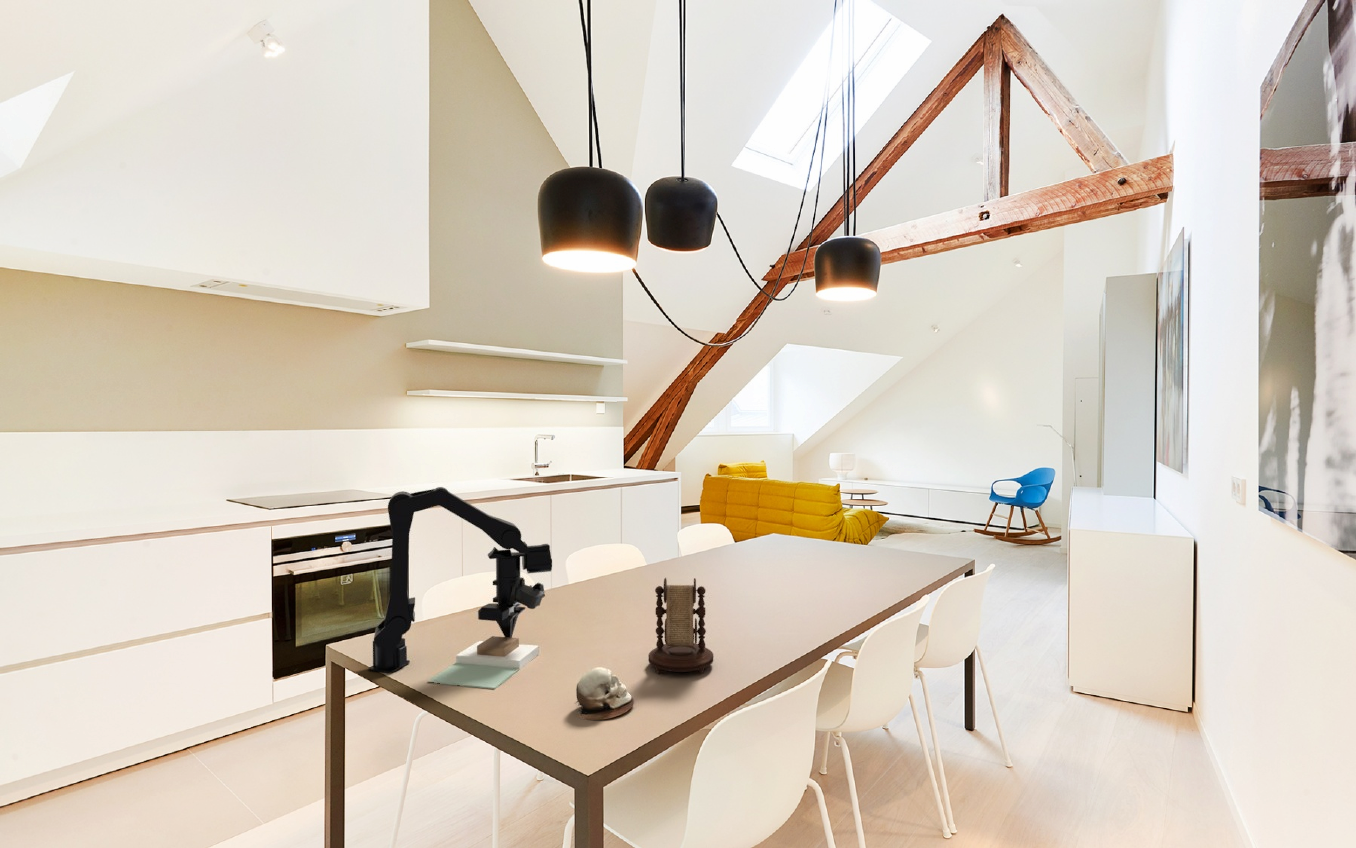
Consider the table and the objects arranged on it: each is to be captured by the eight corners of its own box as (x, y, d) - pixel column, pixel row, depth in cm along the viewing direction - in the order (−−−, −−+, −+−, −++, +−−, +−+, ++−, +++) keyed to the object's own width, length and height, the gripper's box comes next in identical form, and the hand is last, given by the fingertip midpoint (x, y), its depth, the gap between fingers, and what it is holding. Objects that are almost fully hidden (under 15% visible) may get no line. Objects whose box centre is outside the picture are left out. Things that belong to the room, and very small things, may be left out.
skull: (629, 684, 138) (634, 660, 131) (633, 735, 130) (638, 712, 123) (570, 687, 135) (573, 663, 128) (571, 739, 128) (573, 716, 121)
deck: (456, 664, 153) (456, 655, 153) (479, 649, 162) (479, 641, 162) (519, 669, 149) (519, 660, 149) (539, 654, 159) (539, 645, 159)
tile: (477, 654, 153) (477, 646, 153) (492, 644, 160) (492, 636, 160) (504, 656, 151) (504, 648, 151) (518, 646, 158) (518, 638, 158)
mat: (427, 682, 142) (427, 681, 142) (455, 664, 153) (455, 663, 153) (494, 689, 138) (494, 687, 138) (519, 670, 149) (519, 668, 149)
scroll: (645, 678, 143) (644, 586, 143) (651, 654, 158) (651, 570, 158) (713, 679, 143) (712, 586, 142) (713, 654, 157) (712, 570, 157)
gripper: (520, 586, 150) (521, 655, 150) (554, 568, 168) (555, 629, 168) (476, 583, 152) (477, 651, 152) (514, 566, 170) (515, 626, 171)
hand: (508, 639), depth 161 cm, fingers closed
